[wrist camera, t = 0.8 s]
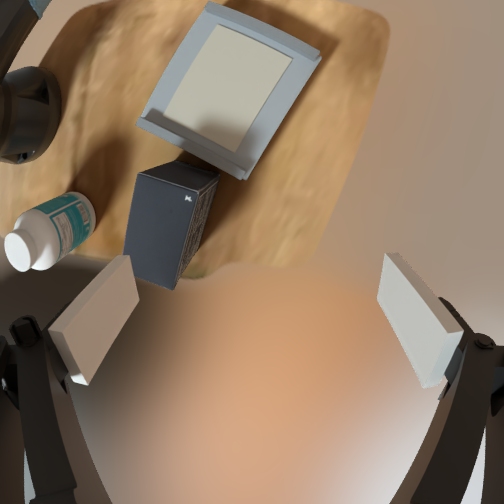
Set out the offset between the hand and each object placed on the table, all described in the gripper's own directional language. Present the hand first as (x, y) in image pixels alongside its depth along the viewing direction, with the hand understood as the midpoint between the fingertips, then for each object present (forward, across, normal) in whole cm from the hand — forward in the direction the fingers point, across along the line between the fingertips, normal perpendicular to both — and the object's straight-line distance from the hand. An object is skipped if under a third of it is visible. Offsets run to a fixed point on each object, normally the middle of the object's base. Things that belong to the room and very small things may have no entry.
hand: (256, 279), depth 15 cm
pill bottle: (+22, -26, -2) cm, 34 cm away
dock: (+22, -3, +12) cm, 25 cm away
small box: (+22, -9, -2) cm, 24 cm away
